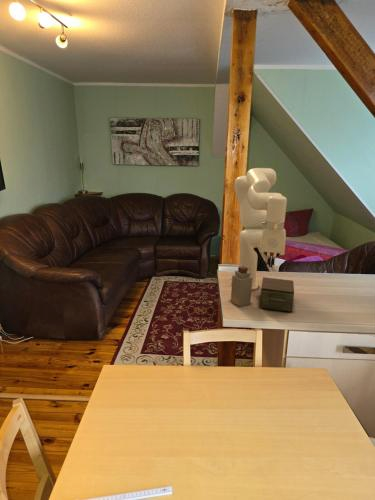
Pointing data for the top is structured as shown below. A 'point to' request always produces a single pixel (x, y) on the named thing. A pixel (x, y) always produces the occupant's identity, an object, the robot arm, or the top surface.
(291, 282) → the cabinet
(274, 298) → the drawer
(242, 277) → the perfume bottle
